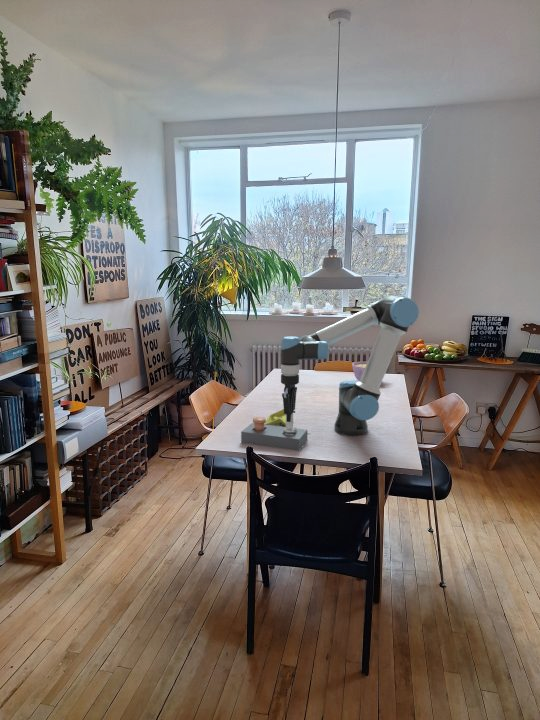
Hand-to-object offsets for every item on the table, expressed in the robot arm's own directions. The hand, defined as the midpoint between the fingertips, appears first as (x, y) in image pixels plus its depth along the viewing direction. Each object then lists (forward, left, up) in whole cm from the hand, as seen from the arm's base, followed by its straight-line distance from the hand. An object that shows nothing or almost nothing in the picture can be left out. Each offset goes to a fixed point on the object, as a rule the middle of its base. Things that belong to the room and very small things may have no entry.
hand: (289, 428), depth 196 cm
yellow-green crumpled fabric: (+12, -19, -8) cm, 23 cm away
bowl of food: (-13, -119, -7) cm, 120 cm away
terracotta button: (+14, 0, -4) cm, 14 cm away
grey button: (0, 0, -6) cm, 6 cm away
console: (+7, 0, -7) cm, 10 cm away
